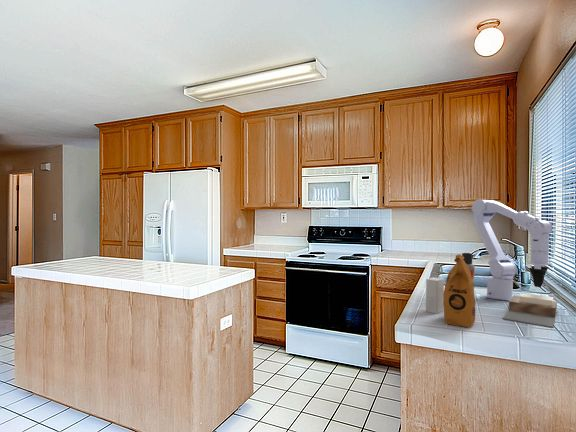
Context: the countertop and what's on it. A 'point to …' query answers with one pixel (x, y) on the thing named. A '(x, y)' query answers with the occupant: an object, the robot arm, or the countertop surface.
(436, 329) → the countertop surface
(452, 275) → the coffee package
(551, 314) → the board
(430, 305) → the skincare box
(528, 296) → the block
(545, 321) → the mat
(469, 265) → the lotion bottle
